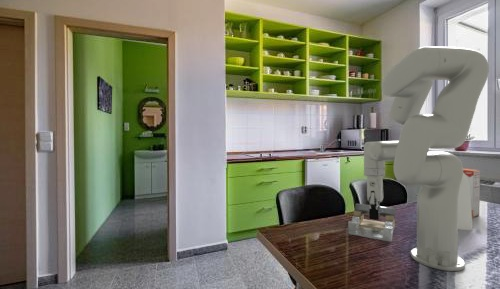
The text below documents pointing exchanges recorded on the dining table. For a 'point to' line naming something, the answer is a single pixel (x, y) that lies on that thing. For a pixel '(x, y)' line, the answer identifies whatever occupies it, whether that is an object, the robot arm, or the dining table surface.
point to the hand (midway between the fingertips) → (374, 217)
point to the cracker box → (474, 189)
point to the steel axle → (382, 210)
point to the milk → (464, 205)
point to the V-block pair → (371, 230)
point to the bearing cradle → (371, 223)
